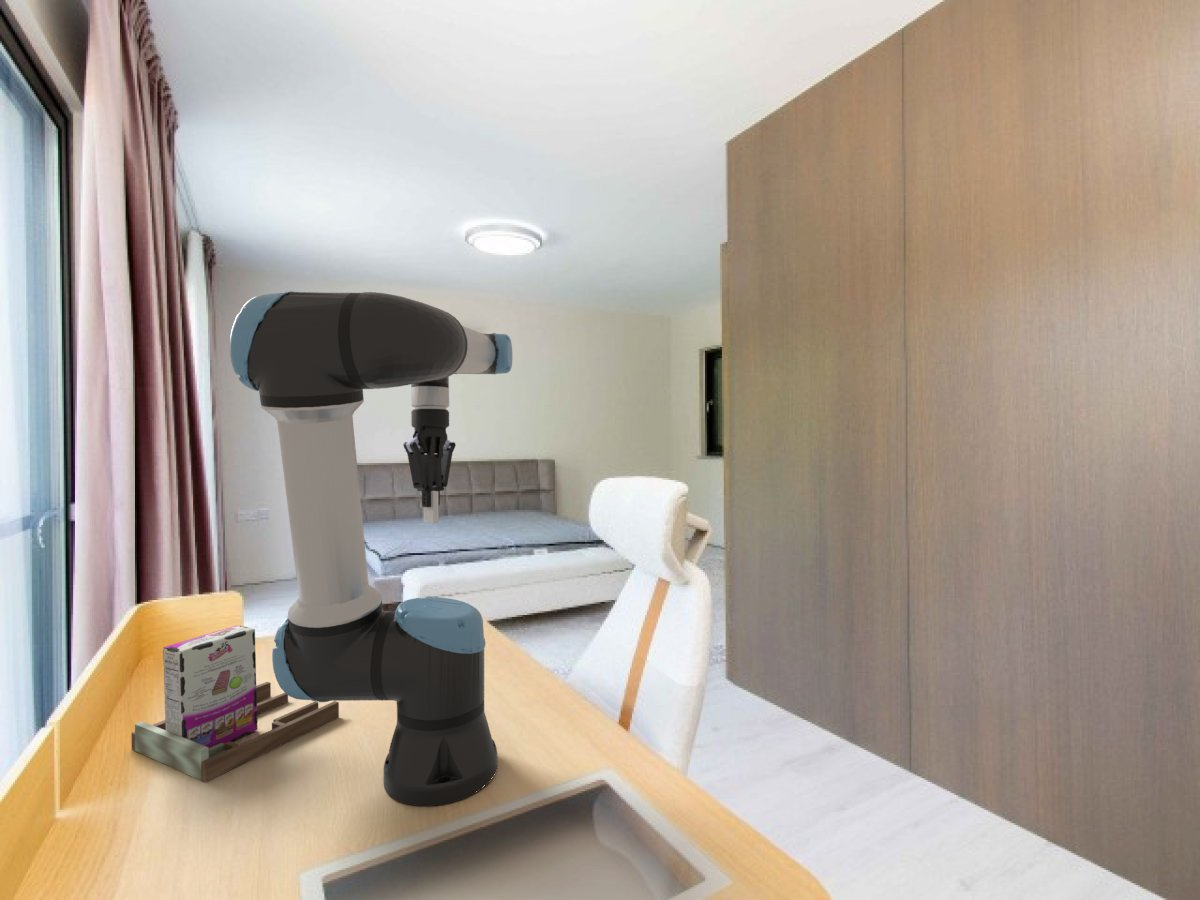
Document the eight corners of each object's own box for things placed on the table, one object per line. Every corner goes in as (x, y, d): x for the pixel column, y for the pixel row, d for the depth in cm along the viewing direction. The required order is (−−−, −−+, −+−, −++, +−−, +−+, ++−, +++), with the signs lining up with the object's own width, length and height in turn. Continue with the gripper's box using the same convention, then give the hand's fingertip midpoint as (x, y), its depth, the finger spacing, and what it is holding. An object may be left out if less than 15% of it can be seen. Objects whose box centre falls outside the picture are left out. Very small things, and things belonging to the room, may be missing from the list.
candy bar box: (238, 724, 95) (237, 624, 94) (258, 730, 92) (257, 627, 92) (162, 757, 84) (161, 645, 84) (183, 765, 82) (181, 650, 82)
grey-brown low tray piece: (338, 717, 97) (338, 693, 97) (205, 782, 78) (205, 752, 78) (267, 695, 105) (267, 673, 105) (131, 749, 87) (131, 722, 87)
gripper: (438, 410, 128) (439, 518, 128) (392, 407, 116) (393, 525, 116) (465, 409, 124) (466, 519, 124) (421, 406, 113) (421, 527, 113)
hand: (431, 522), depth 120 cm, fingers closed
